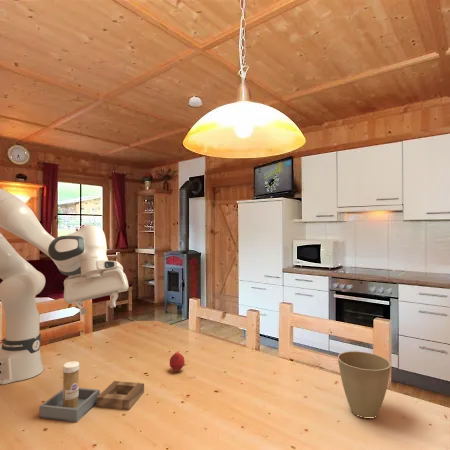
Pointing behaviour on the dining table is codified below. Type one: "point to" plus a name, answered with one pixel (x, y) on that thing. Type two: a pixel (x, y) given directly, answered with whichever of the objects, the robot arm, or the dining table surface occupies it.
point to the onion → (177, 361)
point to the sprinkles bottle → (70, 384)
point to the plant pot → (364, 381)
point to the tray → (58, 412)
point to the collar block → (118, 401)
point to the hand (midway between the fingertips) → (98, 310)
